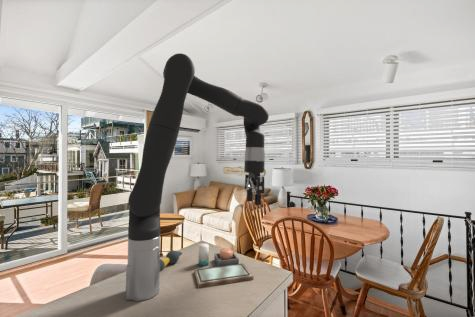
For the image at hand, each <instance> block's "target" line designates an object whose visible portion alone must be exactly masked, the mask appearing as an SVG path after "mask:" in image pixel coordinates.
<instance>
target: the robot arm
mask: <svg viewBox="0 0 475 317" xmlns="http://www.w3.org/2000/svg"><path fill="white" fill-rule="evenodd" d="M195 70H196V68H195V64H194V62H193V60H192V58H191V57H190V56H189V55H187V54H184V53H175V54H173V55H171V56H170V57H169V58H168V59H167V61H166V62H165V65H164V68H163V71H162V74H163V79H164V80H163V84H162V89H161V93H160V96H159V98H158V100H157V103H156V105H155V107H154V110H153V112H152V115H151V118H150V120H149V123H148V127H147V130H146V134H145V138H144V144H143V150H142V158H141V166H140V169H139V172H138V175H137V177H136V180H135V183H134V185H133V187H132V190H131V191H130V194H129V196H128V200H127V201H128V202H127V203H128V208H129V209H128V227H127V230H128V231H127V264H126V268H125V271H126V273H125V301H135V302H140V301H146V300H149V299H152V298H154V297H156V296H157V295H158V293H159V292H160V276H161V275H160V273H161V271H160V259H161V204H162V197H163V189H164V182H165V178H166V173H167V169H168V167H169V165H170V161H171V159H172V157H173V153H174V151H175V147H176V144H177V140H178V137H179V133H180V128H181V124H182V118H183V112H184V107H185V101H186V99H187V98H186V97H187V94H189V95H192V96H194V97H197V98H199V99H201V100H204V101H206V102H208V103H210V104H212V105H214V106H216V107H218V108H219V109H221V110H223V111H225V112H226V113H229V114H230V115H232V116H234V117H242V118H243V128H244V133H245V152H244V173H248V174H245V178H244V190H245V191H246V201H247V202H253V201H254V202H253V203H254V205H255V206H261V204H262V195H263V194H264V193H265V176H261V174H263V173H265V159H266V158H265V156H266V155H265V154H266V153H265V134H264V133H262V132H261V128H260V126H262V125H264V124H266V123H267V122H268V120H269V116H270V115H269V111H268V110H267V109H266V107H264V106H263V105H262V104H259V103H257V102H254V101H251V100H248V99H244V98H243V97H242V96H239V95H238V94H236V93H234V92H233V91H231V90H229V89H227V88H224V87H222V86H217V85H215V84H212V83H209V82H206V81H204V80H201V79H200V78H198V77H197V76H196V75H195V72H196V71H195ZM253 191H254V193H253ZM253 194H254V197H253ZM253 199H254V200H253Z"/></svg>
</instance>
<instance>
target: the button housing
mask: <svg viewBox="0 0 475 317" xmlns="http://www.w3.org/2000/svg"><path fill="white" fill-rule="evenodd" d="M213 259H214V262H215V263H216V265H217V266H216V267H219V266H227V265H234V264H240V263H239V262H240V260H239V257H238V256H237V255H236V254H235V253H234V251H233V258H232V259H230V260H222V259H220V252H217V253H214V258H213Z"/></svg>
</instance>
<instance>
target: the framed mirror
mask: <svg viewBox="0 0 475 317" xmlns="http://www.w3.org/2000/svg"><path fill="white" fill-rule="evenodd" d="M193 273H194V277H195V281H196V283H197V284H196V285H197V288H199V289H200V288H207V287H213V286H219V285H224V284H233V283H238V282H246V281H252V280H254V279H255V278H254V277H255V276H254V275H253V274H252V273H251V272H250V270H249V269H248V267H247V266H246V265H245V264H244V263H239V264H234V265H227V266H219V267H218V266H214V267H213V266H211V267H204V268H203V267H202V268H197V269H194V270H193Z"/></svg>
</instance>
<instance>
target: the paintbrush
mask: <svg viewBox="0 0 475 317" xmlns="http://www.w3.org/2000/svg"><path fill="white" fill-rule="evenodd" d="M182 254H183V252H181V251H178V250H169V251H168V252H167V254H166V257H164V258H160V272H161V271H162V270H164V269H165V268H166V266H168V264H170V265H174V264H176V263H177V262H178V261H179V260H180V256H181V255H182Z"/></svg>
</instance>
